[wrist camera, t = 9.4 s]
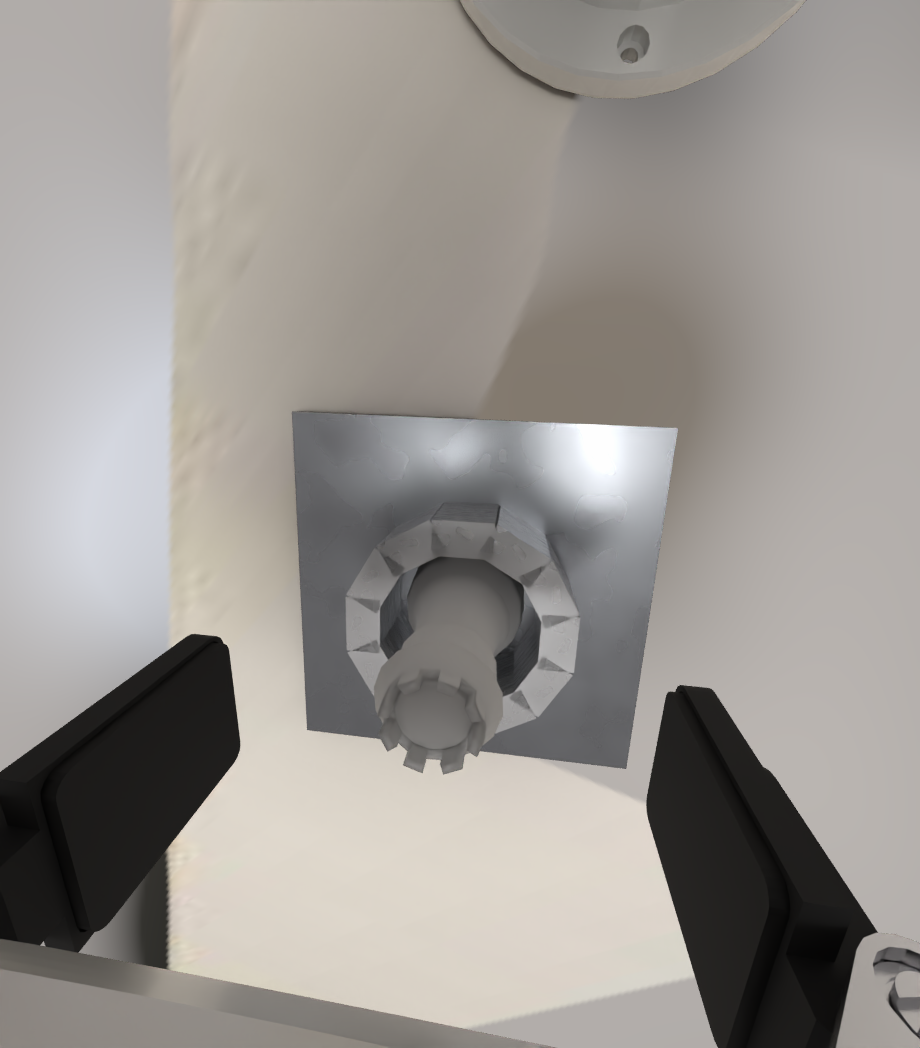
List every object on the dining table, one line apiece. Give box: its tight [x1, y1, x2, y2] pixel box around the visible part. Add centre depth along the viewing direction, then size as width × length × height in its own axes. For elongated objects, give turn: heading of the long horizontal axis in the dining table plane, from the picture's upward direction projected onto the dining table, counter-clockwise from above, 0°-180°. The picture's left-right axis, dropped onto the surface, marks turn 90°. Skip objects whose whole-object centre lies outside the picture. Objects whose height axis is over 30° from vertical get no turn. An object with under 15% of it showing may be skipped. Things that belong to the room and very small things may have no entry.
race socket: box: [292, 412, 678, 769], centre depth 17 cm, size 14×14×4 cm
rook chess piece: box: [374, 556, 524, 775], centre depth 14 cm, size 4×4×8 cm
